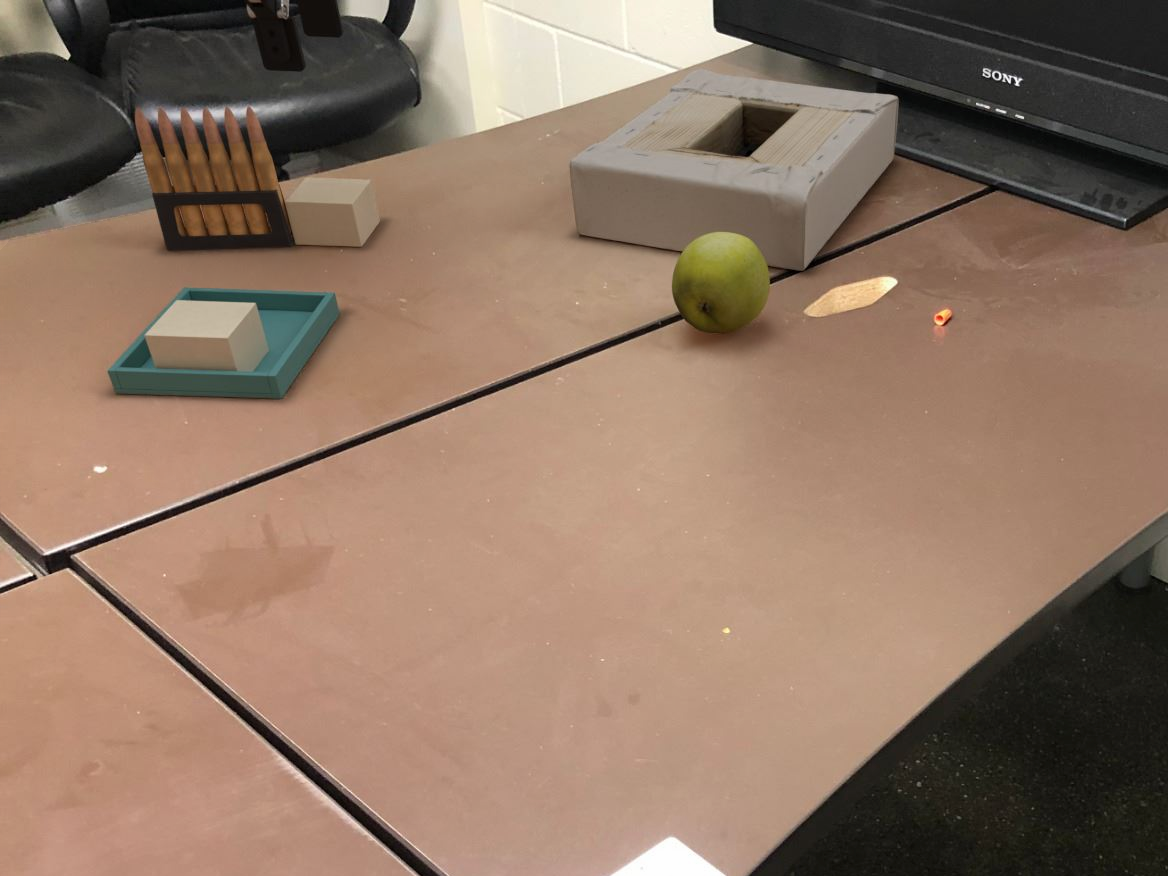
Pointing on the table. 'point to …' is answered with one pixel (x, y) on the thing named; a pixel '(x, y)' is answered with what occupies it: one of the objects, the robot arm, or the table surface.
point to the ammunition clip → (214, 185)
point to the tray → (291, 341)
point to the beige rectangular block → (332, 212)
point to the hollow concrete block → (737, 166)
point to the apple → (720, 282)
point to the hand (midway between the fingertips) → (305, 52)
